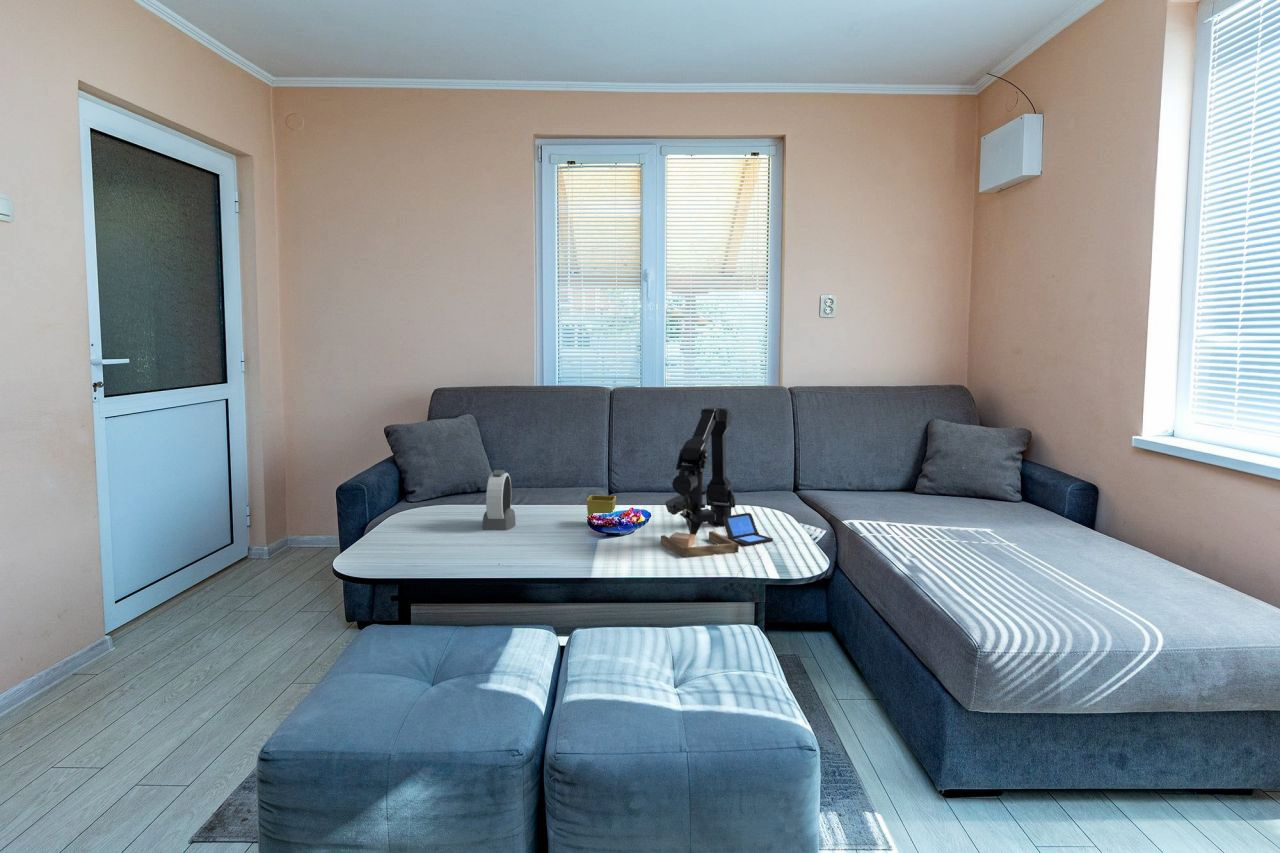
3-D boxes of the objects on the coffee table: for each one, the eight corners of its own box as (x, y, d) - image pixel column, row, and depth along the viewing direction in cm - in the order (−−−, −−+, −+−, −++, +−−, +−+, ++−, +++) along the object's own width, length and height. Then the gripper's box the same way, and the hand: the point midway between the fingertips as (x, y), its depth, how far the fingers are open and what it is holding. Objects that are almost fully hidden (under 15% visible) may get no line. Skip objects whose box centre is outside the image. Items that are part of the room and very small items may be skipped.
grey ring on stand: (510, 532, 246) (510, 474, 244) (477, 531, 246) (477, 474, 244) (519, 520, 262) (519, 466, 260) (488, 519, 262) (488, 466, 260)
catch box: (712, 539, 241) (712, 531, 240) (738, 552, 226) (738, 543, 225) (660, 543, 234) (660, 535, 234) (684, 557, 219) (684, 548, 219)
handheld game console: (745, 548, 232) (745, 523, 231) (720, 540, 241) (721, 516, 240) (774, 542, 240) (775, 518, 239) (749, 535, 248) (750, 512, 247)
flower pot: (616, 522, 262) (616, 495, 261) (612, 528, 253) (613, 500, 252) (590, 521, 263) (590, 494, 262) (585, 527, 254) (586, 499, 253)
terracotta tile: (694, 544, 235) (695, 534, 234) (688, 548, 229) (688, 538, 229) (675, 541, 237) (676, 532, 236) (669, 546, 231) (669, 536, 231)
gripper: (656, 482, 239) (656, 532, 241) (682, 496, 222) (681, 549, 224) (689, 479, 243) (688, 528, 245) (717, 493, 226) (716, 545, 228)
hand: (692, 537), depth 236 cm, fingers closed
